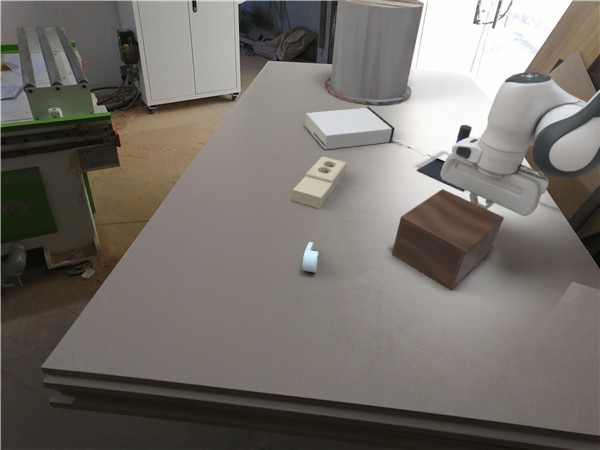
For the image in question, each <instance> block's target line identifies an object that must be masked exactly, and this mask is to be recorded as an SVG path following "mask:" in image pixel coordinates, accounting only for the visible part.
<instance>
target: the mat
mask: <svg viewBox="0 0 600 450" xmlns="http://www.w3.org/2000/svg"><path fill="white" fill-rule="evenodd" d="M444 162H445V160H443V159H440V158H438V157H437V158H434V159H433V160H431V161H430V162H428V163H426V164H424V165H422V166H421V167H419V168H417V169H416V172H418V173H420V174H423V175H425V176H427V177H429V178H432V179H434V180H437V181H438V182H441V183H443V184H445V185H447V186H450V187H452V188H454V189H456V190H459V191H461V192H465V191H466V190H464V189H462V188H460V187H458V186H455V185H453V184H451V183H449V182H446V181H444V180H442V178H441V175H440V174H441V170H442V167H443V165H444Z"/></svg>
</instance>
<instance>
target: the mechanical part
mask: <svg viewBox="0 0 600 450" xmlns="http://www.w3.org/2000/svg"><path fill="white" fill-rule="evenodd" d="M318 262H319V251H316V250H314V242H313V241H308V243H307V245H306V247H305V250H304V254H303V258H302V266H301V270H302V272H303V271H305V272H309V273H317V267H318Z"/></svg>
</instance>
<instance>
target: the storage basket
mask: <svg viewBox="0 0 600 450" xmlns="http://www.w3.org/2000/svg"><path fill="white" fill-rule="evenodd" d="M424 5H425V3H424V2H422V1H421V0H337V7H336V18H335V28H334V29H335V30H334V38H333V39H334V40H333V51H332V62H331V71H330V77H328V78H327V79H326V80H325V82H324V90H325V91H326V92H327V93H328V94H329V95H331V96H332V97H334V98H337V99H338V100H342V101H344V102H349V103H353V104H357V105H358V104H359V105H364V106H391V105H392V106H393V105H399V104H401V103H404V102H407V101H408V100H409V99H410V98H411V95H412V88H411V87H410V86H409V85H408V83H409V78H410V73H411V67H412V63H413V58H414V54H415V49H416V45H417V44H416V43H417V40H418V35H419V30H420V24H421V19H422V14H423V12H424V11H423V10H424Z"/></svg>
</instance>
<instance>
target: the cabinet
mask: <svg viewBox="0 0 600 450" xmlns="http://www.w3.org/2000/svg"><path fill="white" fill-rule="evenodd" d="M504 219H505V216H502V215H500V214H498V213H496V212H494V211H491V210H489V209H488V208H487V209H485V208H483V207H481V206H478V205H476V204H474V203H472V202H471V201H470V200H468V199H465V198H464V197H461V196H459V195H457V194H454V193H452V192H450V191H447V190H446V189H444V188H442V189H440V190H439V191H437V192H436V193H434V194H433V195H431V196H430V197H428V198H427V199H425V200H423V201H422V202H420V203H419V204H417V205H416V206H415V207H413V208H412V209H410V210H409V211H407V212H406V213H403V215H401V216H400V219H399V223H398V227H397V230H396V231H397V232H396V234H395V235H396V236H395V239H394V244H393V247H392V251H391V255H392V256H394V257H395V258H397V259H399V260H400V261H402V262H403V263H405V264H407V265H409V266H410V267H412V268H414V269H415V270H417V271H418V270H419V271H418V272H420V273H422V274H423V275H425V276H426V277H428V278H430V279H432V280H433V281H435V282H437V283H438V282H439V283H438V284H440V285H442V287H444V288H446V287H447V288H446V289H448V288H449V289H448V290H450V289H451V290H450V291H452V290H454V288H456V286H457V285H459V283H461V282H462V281H463V280H464V279H465V278H466V277H467V276H468V275H469V274H470V273H471V272H472V271H473V270H474V269H475V268H476V267H477V266H478V265H479V264H480V263H481V262H482V261H484V259H485V258H486V257H487V256H488V255H489V254H490V251H491V250H492V248H493V247H492V246H493V245H494V242H495V241H496V238H497V235H498V233H499V231H500V229H501V226H502V225H503V222H504ZM471 270H472V271H471ZM470 271H471V272H470ZM469 272H470V273H469ZM468 273H469V274H468ZM467 274H468V275H467ZM466 275H467V276H466ZM465 276H466V277H465ZM464 277H465V278H464Z"/></svg>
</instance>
